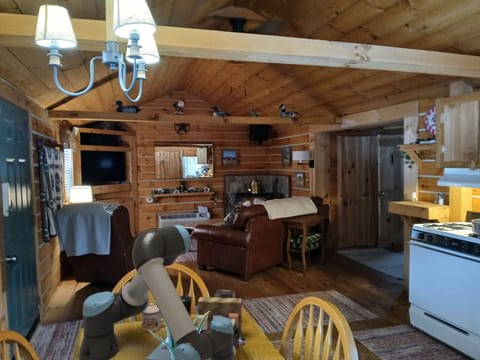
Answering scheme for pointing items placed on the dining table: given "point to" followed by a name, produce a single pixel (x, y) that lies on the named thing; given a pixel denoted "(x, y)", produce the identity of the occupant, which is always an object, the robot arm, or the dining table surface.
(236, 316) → the terracotta button
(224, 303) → the button console
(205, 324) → the ivory button
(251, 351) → the dining table surface
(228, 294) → the coffee box
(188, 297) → the drinking cup
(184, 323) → the robot arm
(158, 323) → the teacup with lid
